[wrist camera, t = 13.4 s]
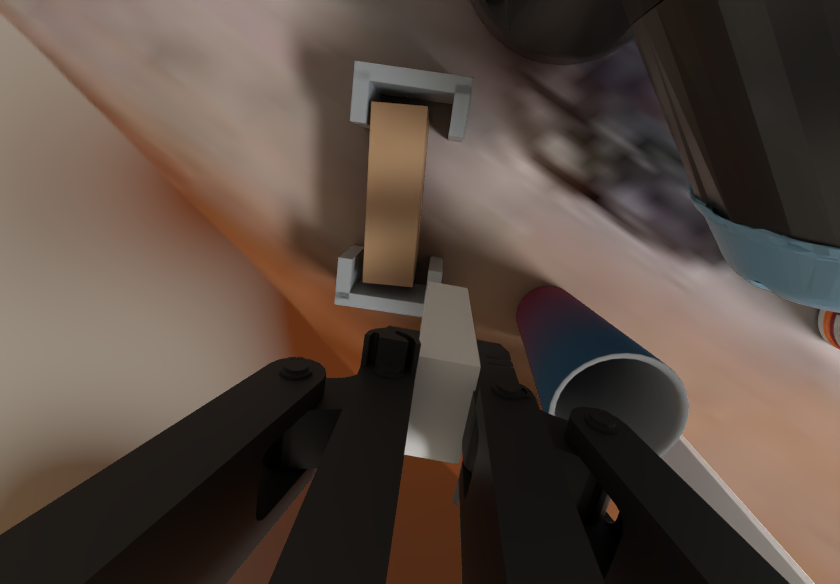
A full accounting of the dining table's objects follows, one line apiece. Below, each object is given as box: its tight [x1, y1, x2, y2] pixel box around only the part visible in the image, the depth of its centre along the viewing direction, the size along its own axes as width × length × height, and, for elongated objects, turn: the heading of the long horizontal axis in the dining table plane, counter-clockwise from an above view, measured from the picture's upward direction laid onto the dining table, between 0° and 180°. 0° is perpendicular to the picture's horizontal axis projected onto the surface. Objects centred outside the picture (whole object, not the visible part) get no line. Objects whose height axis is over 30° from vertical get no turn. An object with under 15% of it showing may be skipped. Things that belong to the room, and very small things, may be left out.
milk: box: [661, 434, 815, 584], centre depth 27 cm, size 6×6×22 cm
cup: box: [516, 286, 689, 457], centre depth 28 cm, size 7×7×15 cm
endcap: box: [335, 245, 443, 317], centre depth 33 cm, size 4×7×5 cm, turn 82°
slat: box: [363, 101, 430, 287], centre depth 31 cm, size 12×4×5 cm, turn 175°
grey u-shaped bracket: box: [350, 61, 474, 142], centre depth 29 cm, size 4×7×5 cm, turn 82°
